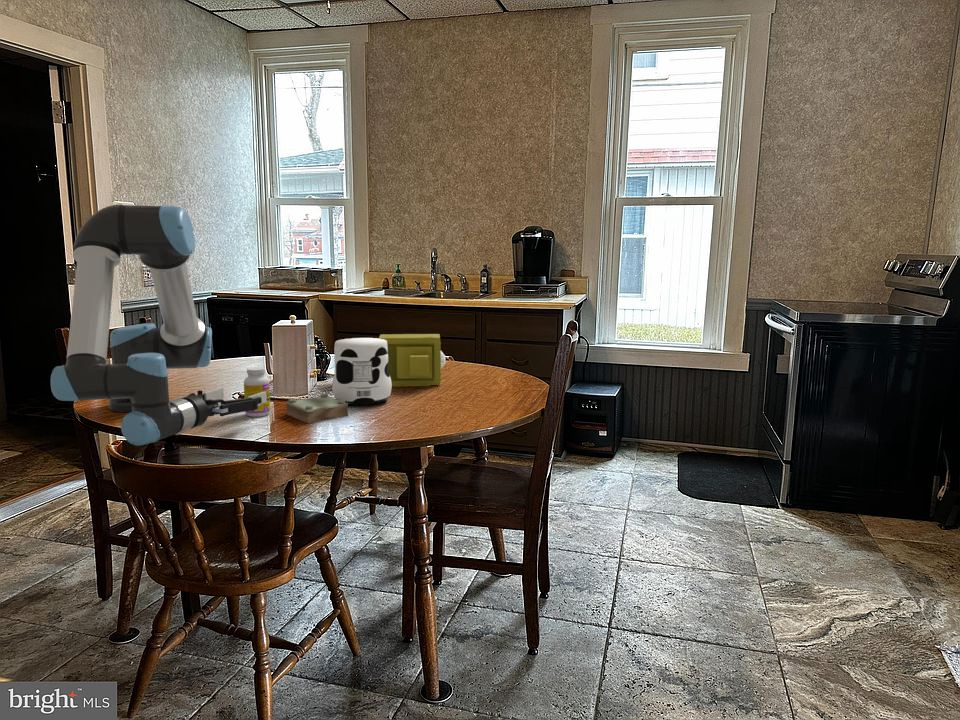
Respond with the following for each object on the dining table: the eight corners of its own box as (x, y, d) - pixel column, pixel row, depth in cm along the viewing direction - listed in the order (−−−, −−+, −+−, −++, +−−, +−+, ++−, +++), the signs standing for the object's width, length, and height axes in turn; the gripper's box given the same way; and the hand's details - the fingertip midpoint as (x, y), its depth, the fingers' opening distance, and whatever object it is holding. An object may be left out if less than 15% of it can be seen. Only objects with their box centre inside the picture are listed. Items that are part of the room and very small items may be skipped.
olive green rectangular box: (444, 333, 230) (446, 340, 214) (445, 380, 233) (446, 390, 217) (340, 334, 227) (334, 341, 211) (341, 381, 230) (335, 391, 214)
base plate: (307, 423, 177) (307, 407, 177) (287, 414, 186) (286, 399, 185) (347, 415, 185) (347, 401, 184) (326, 407, 194) (325, 393, 193)
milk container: (365, 392, 214) (363, 335, 211) (404, 400, 203) (403, 341, 200) (320, 402, 201) (318, 341, 197) (359, 411, 190) (357, 347, 187)
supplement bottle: (266, 417, 183) (263, 370, 180) (241, 417, 183) (239, 370, 180) (274, 411, 189) (271, 366, 187) (250, 411, 189) (248, 366, 187)
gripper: (144, 424, 164) (205, 404, 183) (229, 434, 156) (284, 412, 175) (141, 394, 162) (204, 377, 182) (227, 402, 154) (283, 384, 174)
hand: (243, 394), depth 179 cm, fingers open, 13 cm apart
